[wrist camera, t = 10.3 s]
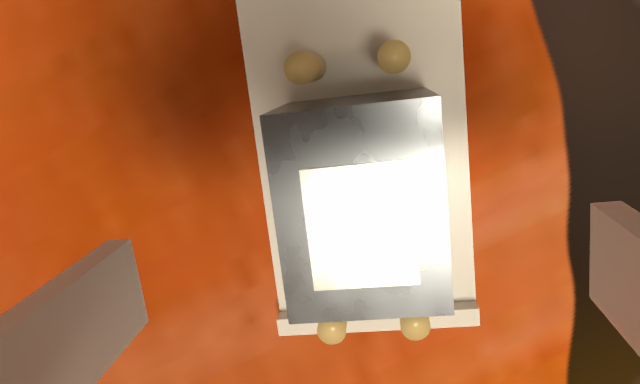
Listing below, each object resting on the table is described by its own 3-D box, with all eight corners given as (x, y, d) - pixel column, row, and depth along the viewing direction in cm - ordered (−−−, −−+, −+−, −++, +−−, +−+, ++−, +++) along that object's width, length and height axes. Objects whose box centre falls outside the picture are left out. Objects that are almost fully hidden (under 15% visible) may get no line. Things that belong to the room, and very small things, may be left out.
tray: (199, -289, 25) (150, -385, 19) (439, -340, 23) (458, -460, 18) (285, 319, 32) (266, 371, 26) (473, 308, 30) (493, 361, 25)
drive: (288, 102, 27) (258, 115, 21) (424, 87, 27) (440, 95, 20) (309, 264, 29) (288, 325, 23) (436, 255, 29) (454, 315, 22)
